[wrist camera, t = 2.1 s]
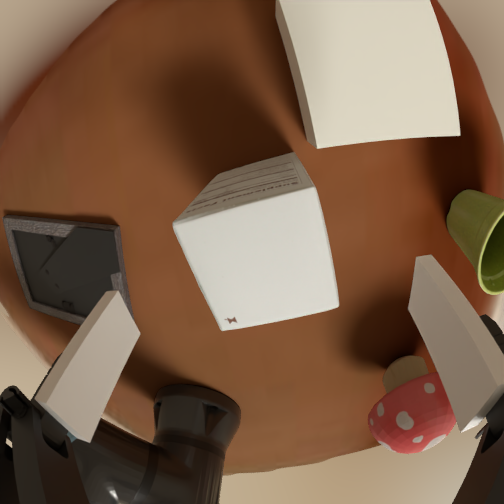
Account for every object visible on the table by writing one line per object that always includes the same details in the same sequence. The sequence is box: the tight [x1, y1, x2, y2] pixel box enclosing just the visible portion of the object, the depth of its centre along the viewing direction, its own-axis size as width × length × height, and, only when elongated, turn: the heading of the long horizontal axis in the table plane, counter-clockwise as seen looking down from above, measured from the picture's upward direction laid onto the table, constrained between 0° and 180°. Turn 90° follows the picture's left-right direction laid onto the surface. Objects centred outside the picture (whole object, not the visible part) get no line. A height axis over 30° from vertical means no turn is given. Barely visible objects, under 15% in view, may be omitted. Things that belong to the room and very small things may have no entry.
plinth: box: [275, 0, 460, 149], centre depth 16 cm, size 12×12×6 cm
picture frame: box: [2, 215, 134, 325], centre depth 31 cm, size 16×2×21 cm
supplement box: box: [173, 152, 339, 331], centre depth 20 cm, size 7×7×13 cm
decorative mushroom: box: [368, 355, 457, 454], centre depth 28 cm, size 13×13×15 cm
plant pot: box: [447, 189, 504, 295], centre depth 20 cm, size 9×9×9 cm
